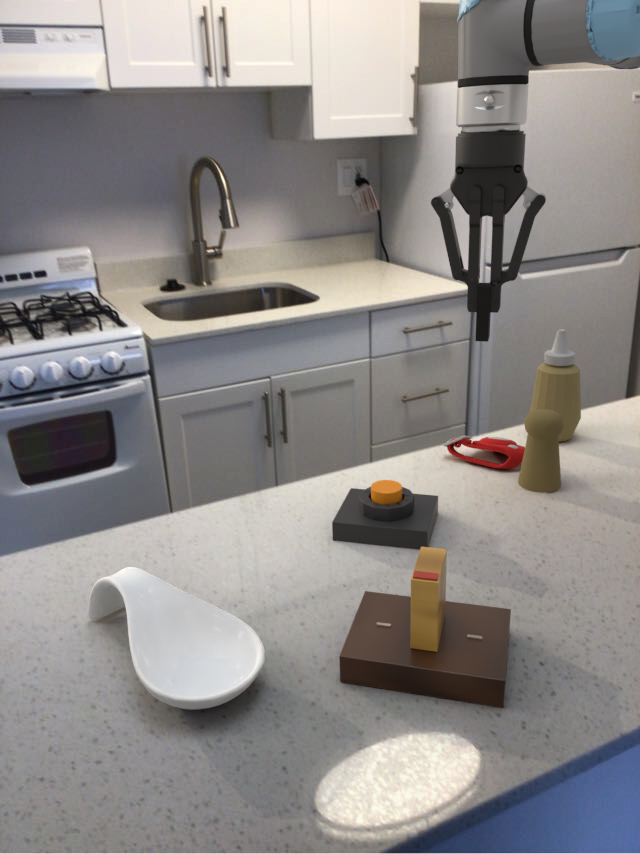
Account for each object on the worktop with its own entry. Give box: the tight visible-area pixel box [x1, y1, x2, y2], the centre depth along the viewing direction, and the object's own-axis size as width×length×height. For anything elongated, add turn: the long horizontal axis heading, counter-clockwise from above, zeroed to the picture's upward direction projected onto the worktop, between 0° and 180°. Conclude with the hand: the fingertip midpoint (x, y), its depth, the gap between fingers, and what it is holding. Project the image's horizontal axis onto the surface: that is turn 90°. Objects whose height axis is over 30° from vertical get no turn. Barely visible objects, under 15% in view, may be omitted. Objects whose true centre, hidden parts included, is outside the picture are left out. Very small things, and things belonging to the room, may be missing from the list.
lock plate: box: [338, 590, 512, 709], centre depth 74 cm, size 15×11×3 cm
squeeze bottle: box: [529, 328, 582, 443], centre depth 122 cm, size 8×8×18 cm
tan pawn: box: [517, 409, 563, 494], centre depth 107 cm, size 6×6×11 cm
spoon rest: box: [87, 566, 266, 710], centre depth 74 cm, size 24×12×7 cm, turn 46°
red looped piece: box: [443, 434, 525, 470], centre depth 116 cm, size 12×4×10 cm
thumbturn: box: [410, 546, 448, 652], centre depth 72 cm, size 6×2×8 cm, turn 164°
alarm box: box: [331, 486, 439, 551], centre depth 98 cm, size 12×10×4 cm
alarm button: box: [370, 479, 403, 504], centre depth 97 cm, size 4×4×2 cm
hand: (482, 338), depth 92 cm, fingers closed
